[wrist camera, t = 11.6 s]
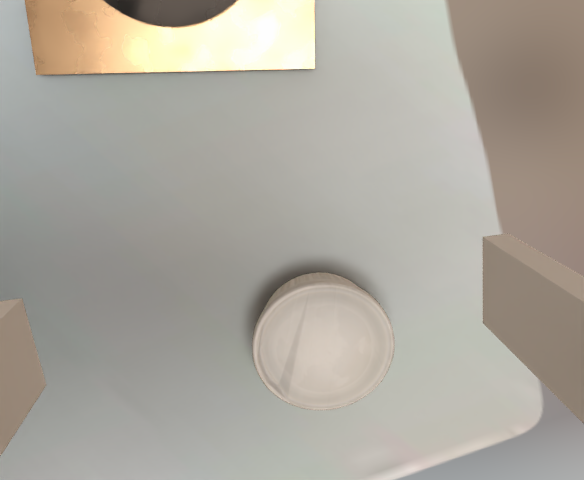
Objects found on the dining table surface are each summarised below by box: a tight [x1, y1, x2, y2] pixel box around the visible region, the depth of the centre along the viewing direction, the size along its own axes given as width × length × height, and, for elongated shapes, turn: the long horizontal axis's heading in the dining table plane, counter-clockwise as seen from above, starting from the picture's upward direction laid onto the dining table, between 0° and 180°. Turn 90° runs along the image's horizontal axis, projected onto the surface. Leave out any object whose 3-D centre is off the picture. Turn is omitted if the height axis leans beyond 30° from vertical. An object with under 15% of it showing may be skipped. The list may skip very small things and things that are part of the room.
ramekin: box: [252, 272, 395, 410], centre depth 44 cm, size 11×11×5 cm
